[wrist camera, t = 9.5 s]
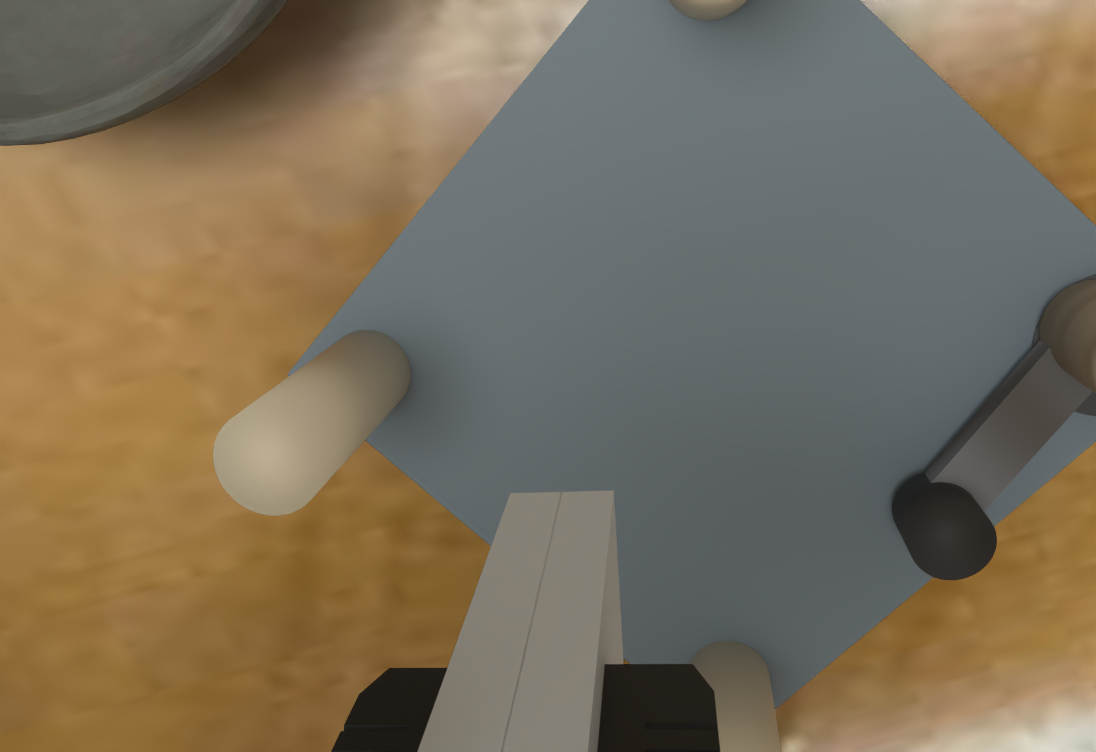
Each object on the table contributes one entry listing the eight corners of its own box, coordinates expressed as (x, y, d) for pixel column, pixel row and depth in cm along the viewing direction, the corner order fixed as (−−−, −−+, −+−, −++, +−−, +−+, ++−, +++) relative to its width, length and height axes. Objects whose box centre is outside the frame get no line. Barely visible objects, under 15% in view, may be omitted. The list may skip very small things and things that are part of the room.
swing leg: (943, 560, 30) (1027, 712, 23) (870, 512, 30) (931, 649, 23) (1165, 314, 27) (1345, 397, 20) (1086, 260, 27) (1237, 323, 20)
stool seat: (730, 707, 36) (749, 948, 26) (314, 354, 34) (160, 465, 24) (1183, 320, 30) (1440, 437, 20) (708, -132, 28) (725, -257, 18)
